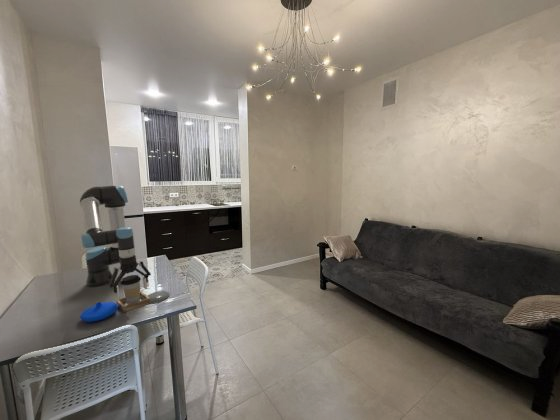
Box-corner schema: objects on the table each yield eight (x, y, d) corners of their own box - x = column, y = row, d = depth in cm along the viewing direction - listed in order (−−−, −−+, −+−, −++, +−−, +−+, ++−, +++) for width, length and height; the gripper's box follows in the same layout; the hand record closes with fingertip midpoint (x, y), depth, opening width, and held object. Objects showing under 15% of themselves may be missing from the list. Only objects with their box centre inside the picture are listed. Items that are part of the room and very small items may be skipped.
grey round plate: (140, 298, 143) (140, 297, 143) (163, 290, 153) (163, 289, 153) (149, 306, 135) (149, 304, 135) (173, 296, 144) (173, 295, 144)
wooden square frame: (116, 304, 138) (116, 300, 137) (141, 295, 147) (141, 291, 147) (124, 312, 129) (124, 307, 129) (150, 302, 139) (150, 298, 138)
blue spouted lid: (99, 307, 135) (97, 295, 134) (125, 308, 134) (124, 296, 133) (72, 325, 120) (69, 311, 119) (102, 326, 118) (100, 312, 117)
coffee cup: (134, 308, 133) (131, 282, 130) (119, 307, 135) (116, 281, 132) (147, 299, 142) (144, 274, 140) (133, 298, 144) (129, 273, 142)
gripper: (102, 264, 122) (108, 304, 126) (154, 251, 141) (158, 286, 144) (98, 261, 127) (103, 299, 130) (149, 249, 146) (153, 283, 149)
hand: (132, 292), depth 137 cm, fingers open, 13 cm apart
